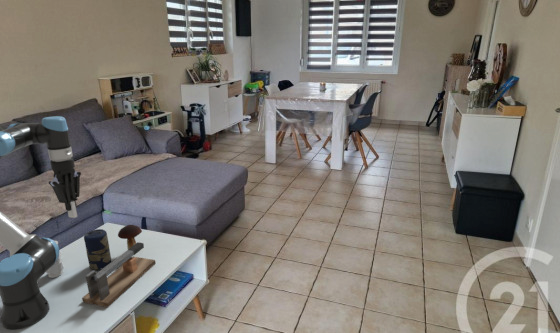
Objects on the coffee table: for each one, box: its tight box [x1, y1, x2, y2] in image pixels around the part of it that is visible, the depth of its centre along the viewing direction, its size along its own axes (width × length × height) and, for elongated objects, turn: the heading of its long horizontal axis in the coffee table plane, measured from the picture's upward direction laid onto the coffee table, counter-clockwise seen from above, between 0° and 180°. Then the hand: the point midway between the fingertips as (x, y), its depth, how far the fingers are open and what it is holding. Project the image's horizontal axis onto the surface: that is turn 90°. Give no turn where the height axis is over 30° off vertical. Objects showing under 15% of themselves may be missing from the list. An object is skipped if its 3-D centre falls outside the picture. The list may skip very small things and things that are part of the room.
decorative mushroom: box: [117, 224, 143, 250], centre depth 181 cm, size 11×11×15 cm
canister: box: [83, 228, 112, 271], centre depth 169 cm, size 10×10×18 cm
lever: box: [91, 241, 145, 281], centre depth 158 cm, size 4×29×2 cm, turn 164°
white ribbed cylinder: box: [45, 240, 64, 279], centre depth 164 cm, size 7×7×15 cm
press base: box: [81, 256, 156, 308], centre depth 158 cm, size 12×32×12 cm, turn 164°
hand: (73, 216), depth 143 cm, fingers closed
